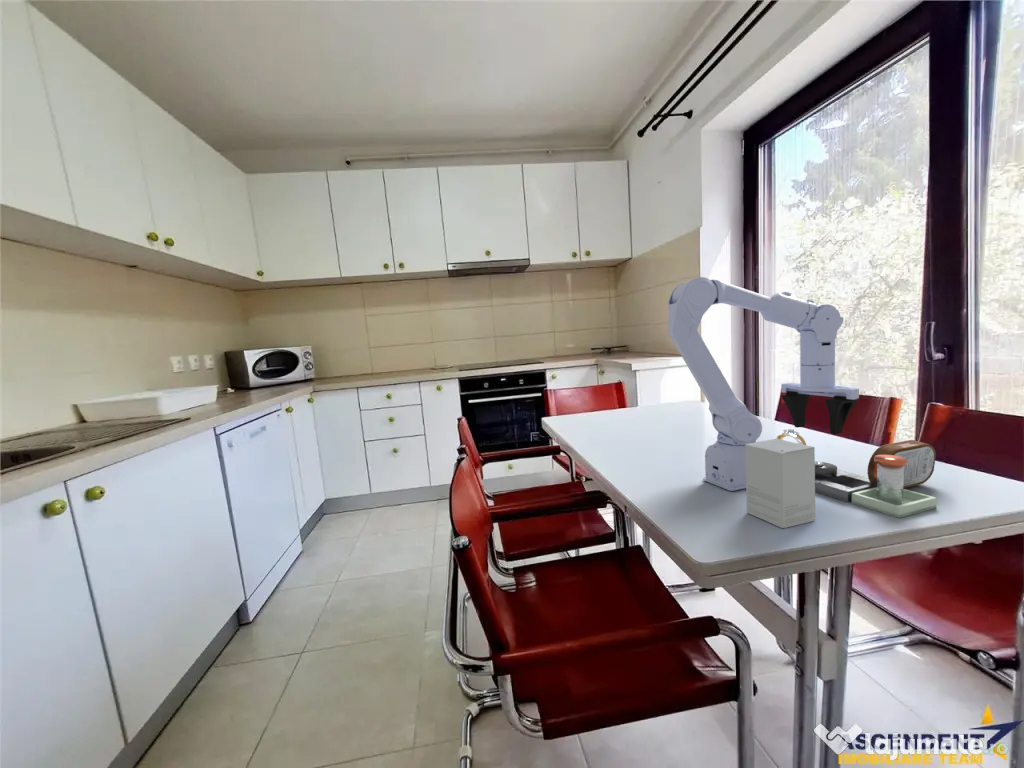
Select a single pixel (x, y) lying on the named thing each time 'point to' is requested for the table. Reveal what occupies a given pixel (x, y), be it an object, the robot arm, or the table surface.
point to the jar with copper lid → (890, 478)
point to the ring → (792, 434)
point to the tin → (917, 461)
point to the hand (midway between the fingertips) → (817, 429)
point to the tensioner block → (839, 482)
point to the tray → (910, 506)
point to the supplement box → (780, 482)
